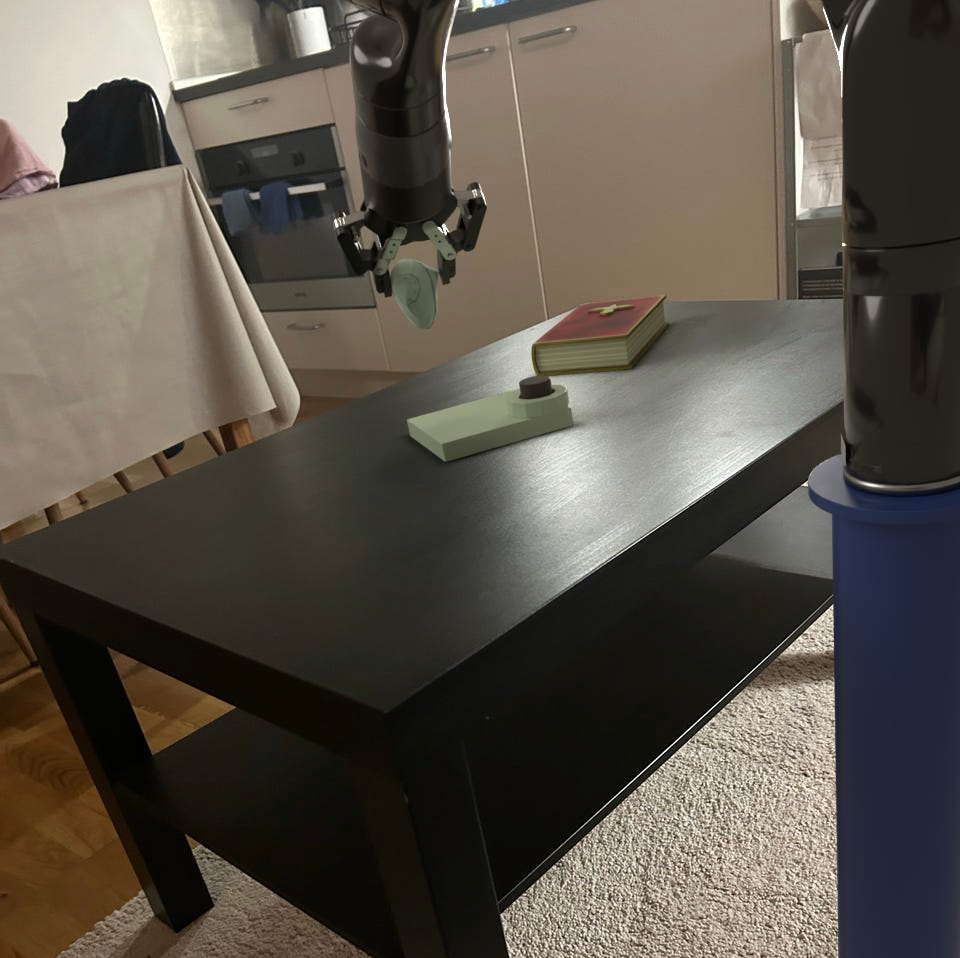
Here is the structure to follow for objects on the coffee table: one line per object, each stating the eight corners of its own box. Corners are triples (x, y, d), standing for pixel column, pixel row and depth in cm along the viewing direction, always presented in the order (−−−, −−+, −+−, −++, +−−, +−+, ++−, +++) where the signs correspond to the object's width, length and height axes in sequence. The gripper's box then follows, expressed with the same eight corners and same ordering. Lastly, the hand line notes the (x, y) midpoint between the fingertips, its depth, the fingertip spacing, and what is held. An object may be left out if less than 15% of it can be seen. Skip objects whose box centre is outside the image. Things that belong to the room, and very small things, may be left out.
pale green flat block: (532, 402, 113) (527, 371, 112) (581, 425, 102) (576, 391, 101) (410, 436, 110) (403, 404, 108) (447, 463, 99) (440, 429, 97)
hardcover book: (534, 376, 123) (529, 341, 121) (582, 333, 140) (578, 301, 138) (630, 368, 118) (627, 332, 116) (668, 324, 135) (665, 292, 133)
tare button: (545, 390, 105) (542, 373, 104) (557, 395, 102) (555, 378, 101) (516, 398, 104) (514, 381, 103) (528, 403, 101) (526, 386, 100)
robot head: (427, 335, 94) (407, 260, 92) (389, 343, 96) (368, 270, 94) (459, 316, 101) (440, 246, 98) (423, 325, 103) (403, 256, 100)
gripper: (477, 95, 84) (476, 237, 100) (308, 129, 83) (334, 267, 99) (501, 166, 82) (496, 299, 98) (327, 202, 81) (351, 331, 97)
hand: (414, 283), depth 98 cm, fingers closed on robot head, 5 cm apart
